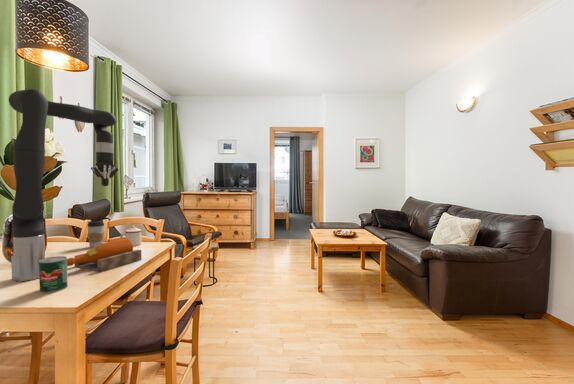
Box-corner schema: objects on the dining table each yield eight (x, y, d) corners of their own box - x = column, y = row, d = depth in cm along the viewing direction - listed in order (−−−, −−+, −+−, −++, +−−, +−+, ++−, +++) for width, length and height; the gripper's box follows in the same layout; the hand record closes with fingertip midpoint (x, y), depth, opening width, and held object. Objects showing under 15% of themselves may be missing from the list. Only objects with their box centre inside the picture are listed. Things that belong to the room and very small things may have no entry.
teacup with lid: (144, 243, 174) (144, 224, 174) (138, 246, 165) (138, 227, 165) (123, 243, 173) (123, 225, 172) (117, 246, 164) (116, 227, 163)
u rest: (101, 271, 119) (101, 260, 119) (74, 266, 126) (74, 255, 126) (141, 259, 138) (141, 250, 138) (116, 255, 145) (116, 246, 145)
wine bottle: (136, 255, 138) (68, 275, 111) (123, 258, 142) (55, 277, 114) (132, 236, 138) (64, 251, 111) (119, 239, 142) (51, 254, 115)
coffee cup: (85, 248, 158) (84, 223, 158) (91, 245, 166) (90, 221, 166) (101, 248, 160) (101, 222, 160) (106, 244, 168) (106, 220, 168)
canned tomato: (66, 283, 106) (65, 255, 106) (69, 288, 101) (68, 259, 100) (38, 288, 101) (37, 259, 100) (40, 295, 95) (39, 263, 95)
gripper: (95, 150, 132) (96, 186, 133) (122, 153, 144) (122, 186, 145) (86, 150, 135) (86, 186, 136) (112, 153, 147) (113, 185, 148)
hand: (105, 186), depth 140 cm, fingers closed
